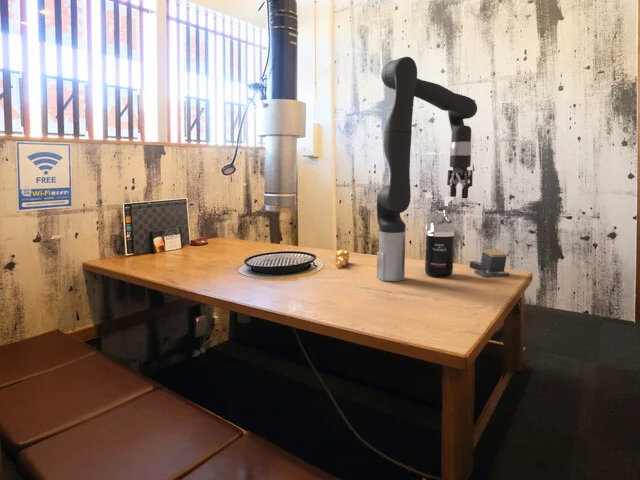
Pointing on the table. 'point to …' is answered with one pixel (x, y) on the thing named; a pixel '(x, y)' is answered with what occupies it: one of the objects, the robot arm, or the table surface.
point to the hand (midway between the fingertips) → (458, 197)
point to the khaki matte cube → (493, 260)
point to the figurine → (342, 258)
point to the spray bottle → (439, 244)
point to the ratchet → (483, 272)
